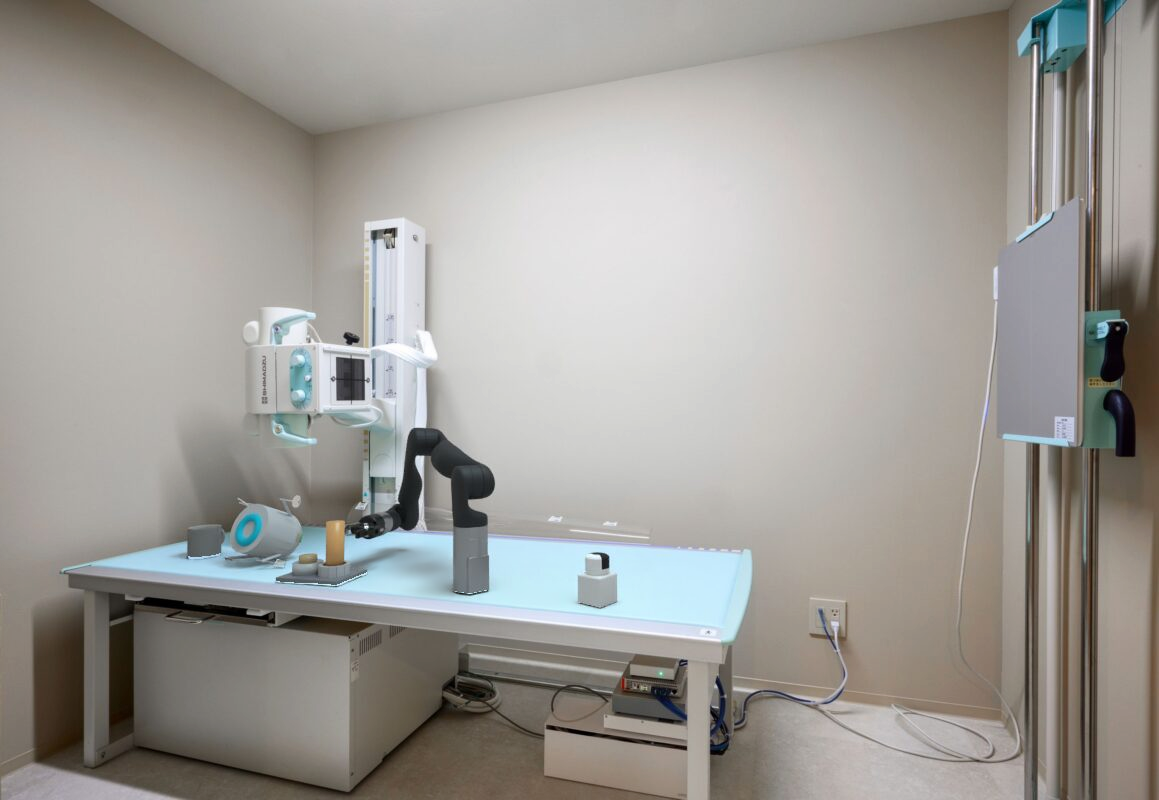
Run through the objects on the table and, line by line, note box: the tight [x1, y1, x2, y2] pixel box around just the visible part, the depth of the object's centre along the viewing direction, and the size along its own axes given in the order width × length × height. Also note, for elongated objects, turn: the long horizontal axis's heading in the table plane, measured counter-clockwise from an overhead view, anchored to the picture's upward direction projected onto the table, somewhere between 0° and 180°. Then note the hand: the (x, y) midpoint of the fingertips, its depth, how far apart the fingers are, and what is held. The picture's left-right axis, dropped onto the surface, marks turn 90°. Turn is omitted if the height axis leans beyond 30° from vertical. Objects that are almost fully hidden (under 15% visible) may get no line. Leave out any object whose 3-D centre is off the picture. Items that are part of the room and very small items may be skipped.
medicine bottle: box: [577, 551, 618, 609], centre depth 148 cm, size 7×7×12 cm
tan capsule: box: [325, 519, 346, 566], centre depth 172 cm, size 5×5×15 cm
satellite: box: [223, 494, 303, 568], centre depth 196 cm, size 23×20×25 cm
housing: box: [275, 553, 368, 585], centre depth 173 cm, size 20×14×6 cm
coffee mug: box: [186, 523, 226, 557], centre depth 206 cm, size 13×10×10 cm
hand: (343, 534), depth 177 cm, fingers open, 8 cm apart
